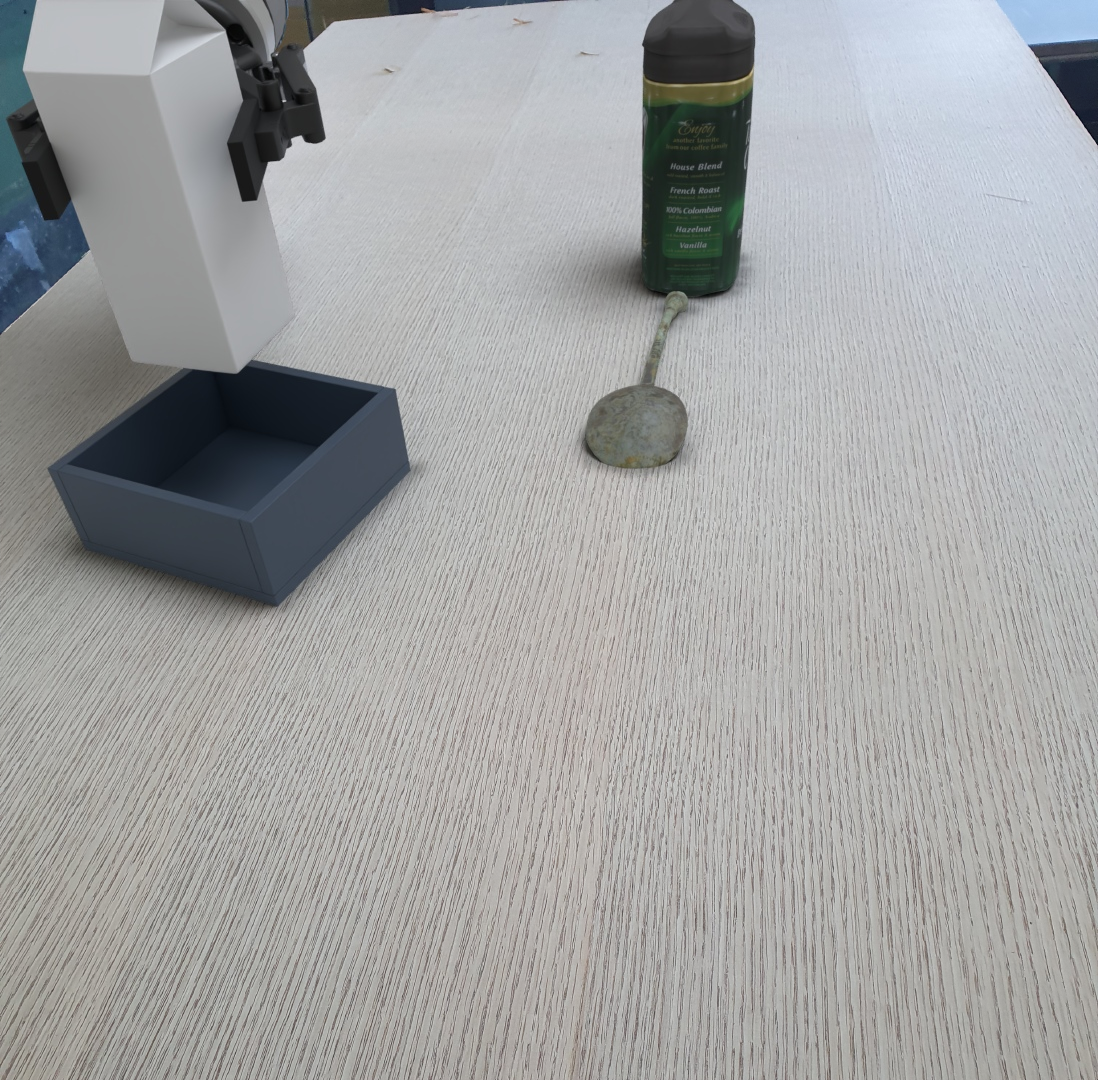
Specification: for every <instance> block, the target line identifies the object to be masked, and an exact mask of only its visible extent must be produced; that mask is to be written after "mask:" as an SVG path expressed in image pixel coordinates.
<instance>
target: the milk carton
mask: <svg viewBox="0 0 1098 1080" xmlns="http://www.w3.org/2000/svg"><path fill="white" fill-rule="evenodd" d="M22 72H23V74H24V77H25V79H26V82H27V85H28V87H29V89H30V93H31V95H32V99H34V101H35V103H36V106H37V109H38V111H39V114H40V117H41V120H42V122H43V125H44V128H45V130H46V133H47V136H48V138H49V141H50V143H51V145H52V148H53V151H54V154H55V156H56V159H57V162H58V164H59V167H60V170H61V172H62V175H63V178H64V180H65V183H66V186H67V189H68V191H69V194H70V197H71V203H72V206H73V207H74V210H75V213H76V216H77V219H78V222H79V224H80V227H81V230H82V232H83V234H84V237H85V241H86V243H87V245H88V248H89V250H90V254H91V256H92V259H93V261H94V265H95V267H96V271H97V272H98V276H99V277H100V281H101V283H102V286H103V288H104V291H105V294H106V297H107V299H108V302H109V304H110V307H111V310H112V314H113V316H114V317H115V320H116V323H117V326H118V328H119V331H120V334H121V337H122V339H123V342H124V344H125V347H126V350H127V353H128V355H129V357H130V360H131V361H132V362H134V363H138V364H145V365H154V366H163V367H170V368H171V367H173V368H178V369H179V368H181V369H183V368H188V369H197V370H205V371H214V372H223V373H233V374H236V373H238V372H240V371H241V370H242V369H243V368H244V367H245V366H246V365H247V364H248V363H249V362H250V361H251V360H254V358H255V357H256V356H257V355H258V354H259V353H260V352H261V351H262V350H263V349H265V348H266V346H267V345H268V344H269V343H270V342H271V341H273V339H274V338H275V337H277V335H278V334H279V333H280V332H282V331H283V330H284V329H285V327H287V326H288V324H289V323H291V322H292V321H293V320H294V318H295V317H296V311H295V306H294V302H293V298H292V295H291V290H290V286H289V282H288V279H287V274H286V270H285V266H284V263H283V258H282V254H281V250H280V245H279V241H278V238H277V234H276V229H275V225H274V222H273V218H272V217H273V216H272V213H271V209H270V205H269V200H268V197H267V193H266V189H265V184H264V181H263V182H262V185H261V189H260V192H259V195H258V199H257V201H247V202H242V200H241V196H240V192H239V188H238V185H237V181H236V177H235V173H234V169H233V165H232V162H231V158H230V154H229V150H228V146H227V141H228V139H229V136H230V133H231V131H232V128H233V126H234V123H235V120H236V118H237V115H238V112H239V110H240V107H241V104H242V102H243V98H242V94H241V90H240V86H239V82H238V78H237V74H236V70H235V66H234V62H233V58H232V54H231V50H230V46H229V42H228V38H227V35H226V30H225V29H224V28H223V27H222V26H221V25H220V24H219V23H218V22H217V21H216V20H215V19H214V18H213V17H212V16H211V15H210V14H208V13H207V12H206V11H205V10H204V9H203V8H202V7H201V6H200V5H199V4H198V3H197V2H196V1H195V0H36V2H35V6H34V12H33V17H32V21H31V27H30V32H29V37H28V41H27V47H26V51H25V56H24V61H23V67H22Z"/></svg>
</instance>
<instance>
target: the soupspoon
mask: <svg viewBox="0 0 1098 1080" xmlns="http://www.w3.org/2000/svg"><path fill="white" fill-rule="evenodd" d="M664 304H665V308H664V311H663V317H662V319H661V321H660V324H659V325H658V329H657V331H656V334H655V337H654V340H653V343H652V345H651V349H650V352H649V355H648V357H647V360H646V363H645V366H644V369H643V372H642V376H641V379H640V383H639V384H635V385H634V384H633V385H629V386H625V387H621V388H619V389H616V390H613V391H611V392H609V393H608V394H606V395H604V396H602V397H601V398H600V399H599V400H598V401H597V402H596V403H595V404H594V405H593V407H592V408H591V409H590V411H589V414H588V417H587V421H586V426H585V441H586V443H587V446H588V447H589V449H590V451H591V452H592V453H593V456H595V457H596V458H597V459H598V461H600V462H601V463H602V464H604V465H607V466H610V467H613V468H619V469H630V470H631V469H632V470H633V469H634V470H639V469H640V470H641V469H653V468H658V467H662V466H664V465H666V464H667V463H669V462H670V461H671V460H673V459H674V458H675V456H676V455H677V454H678V452H679V451H680V449H681V447H682V446H683V443H684V442H685V439H686V435H687V431H688V425H689V422H688V419H689V417H688V413H687V410H686V406H685V404H684V402H683V401H682V400H681V398H680V397H679V396H678V395H676V394H675V393H674V392H673V391H671V390H669V389H666V388H664V387H660V386H657V385H656V378H657V374H658V368H659V364H660V360H661V357H662V353H663V350H664V346H665V344H666V338H667V334H668V332H669V328H670V325H671V323H672V320H673V319H674V318H676V317H677V314H678V313H684V312H685V311H687V308H688V307H689V297H687V296H686V295H685V294H684V293H683V292H679V291H677V292H675V291H674V292H671V293H669V294H667V296H666V297H665V299H664Z"/></svg>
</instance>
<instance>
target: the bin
mask: <svg viewBox="0 0 1098 1080" xmlns="http://www.w3.org/2000/svg"><path fill="white" fill-rule="evenodd" d="M398 400H399V399H398V394H397V390H396V388H393V387H388V386H384V385H380V384H374V383H370V382H364V381H359V380H354V379H349V378H345V377H340V376H336V375H335V376H334V375H330V374H324V373H319V372H315V371H309V370H305V369H300V368H294V367H291V366H290V367H289V366H285V365H281V364H275V363H270V362H265V361H261V360H255V359H252V360H251V361H250V362H249V363H248V364H247V365H246V366H245V367H244V368H243V369H242V370H241V371H240V372H238V373H236V374H233V373H223V372H214V371H205V370H197V369H188V368H181V369H180V370H178V371H177V372H175V373H174V374H173V375H172V376H170V377H169V378H168V379H166V380H165V381H163V382H162V383H161V384H160V385H158V386H157V387H155V388H154V389H153V390H151V391H150V392H149V393H147V394H146V395H145V396H143V397H142V398H141V399H139V400H138V401H136V402H135V403H133V404H132V405H131V406H130V407H128V408H127V409H125V410H124V411H123V412H122V413H120V414H118V415H117V416H116V417H114V418H113V419H112V420H110V421H109V422H108V423H106V424H105V425H104V426H102V427H101V428H100V429H98V430H97V431H95V432H94V433H92V434H91V435H90V436H88V437H87V438H86V439H84V440H83V441H82V442H80V443H79V444H78V445H76V446H75V447H74V448H72V449H71V450H69V451H68V452H67V453H66V454H64V455H63V456H61V457H60V458H59V459H57V460H56V461H54V463H52V464H50V465H49V466H47V471H48V473H49V476H50V478H51V480H52V482H53V484H54V486H55V488H56V491H57V493H58V495H59V498H60V499H61V501H62V504H63V505H64V508H65V510H66V512H67V514H68V516H69V518H70V520H71V523H72V525H73V527H74V529H75V531H76V533H77V535H78V537H79V539H80V541H81V544H82V546H83V548H84V550H86V551H89V552H92V553H96V554H99V555H103V556H106V557H109V558H112V559H116V560H119V561H122V562H126V563H130V564H133V565H136V566H139V567H142V568H146V569H149V570H153V571H155V572H160V573H162V574H166V575H168V576H169V575H170V576H173V577H176V578H180V579H183V580H185V581H186V580H187V581H190V582H193V583H195V584H199V585H203V586H206V587H210V588H213V589H215V590H220V591H223V592H226V593H230V594H234V595H236V596H240V597H243V598H247V599H249V600H254V601H256V602H260V603H262V604H263V603H264V604H267V605H269V606H273V607H280V605H281V604H282V603H283V602H284V601H285V600H286V599H287V598H288V597H289V596H290V595H291V594H292V593H293V592H294V591H295V590H296V589H297V588H298V587H299V586H300V585H301V584H302V583H303V582H304V581H305V580H306V579H307V577H309V576H310V575H311V574H312V573H313V571H314V570H315V569H316V568H317V567H318V566H319V565H320V564H321V563H322V562H323V561H324V560H326V558H327V557H328V556H329V555H330V554H332V552H333V551H334V550H335V549H336V548H337V547H338V546H339V545H340V544H341V543H342V541H344V540H345V539H346V537H348V536H349V535H350V534H351V533H352V531H354V529H355V528H356V527H357V526H359V525H360V524H361V522H362V521H363V520H364V519H365V518H367V516H368V515H369V514H370V513H371V512H372V511H373V510H374V509H375V508H376V507H377V506H378V505H379V504H380V503H381V502H382V501H383V499H385V498H386V497H387V495H389V494H390V493H391V492H392V491H393V489H394V488H396V486H397V485H398V484H399V483H400V482H401V481H402V480H404V478H405V477H406V476H407V475H408V474H409V473H410V472H411V471H412V470H411V466H410V465H411V464H410V460H409V455H408V454H409V453H408V449H407V444H406V437H405V432H404V427H403V421H402V416H401V411H400V406H399V405H400V404H399V401H398Z"/></svg>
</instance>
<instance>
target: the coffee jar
mask: <svg viewBox="0 0 1098 1080" xmlns="http://www.w3.org/2000/svg"><path fill="white" fill-rule="evenodd" d="M641 47H643V56H642V57H643V58H642V107H641V108H642V114H641V115H642V120H641V121H642V122H641V123H642V126H641V127H642V129H641V131H642V132H641V134H642V136H641V149H642V150H641V152H642V153H641V199H642V200H641V235H640V239H641V241H640V242H641V243H640V244H641V245H640V247H641V248H640V249H641V251H640V253H641V254H640V259H641V261H640V263H641V265H640V267H641V268H640V269H641V270H640V271H641V272H640V273H641V279H642V282H643V284H644V285H645V286H646V288H647V289H649V290H651V291H656V292H660V293H663V294H667V295H668V294H669V293H671V292H674V291H675V292H677V291H679V292H683V293H684V294H685V295H686V296H687V298H694V297H702V296H705V295H708V294H709V295H710V294H714V293H718V292H724V291H727V290H728V289H729V288H731V287H732V286H733V284H734V283H735V282H736V280H737V277H738V273H739V270H740V263H741V262H740V261H741V250H742V243H743V242H742V240H743V229H744V228H743V226H744V212H745V201H746V190H747V179H748V169H749V156H750V145H751V143H750V142H751V130H752V129H751V127H752V115H753V99H754V97H753V96H754V76H755V75H754V74H755V63H756V62H755V60H756V59H755V51H756V50H755V49H756V25H755V20H754V17H753V15H752V14H751V12H749V11H747V9H745V8H744V7H742V6H741V5H740V4H738V3H737V2H735V1H734V0H673V1H672V2H671V3H670V4H669V5H667V6H665V7H663V8H662V9H661V10H659V11H658V12H657V13H655V15H653V16H652V17H651V19H650V21H649V22H648V25H647V26H646V30H645V33H644V35H643V40H642V43H641Z"/></svg>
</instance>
